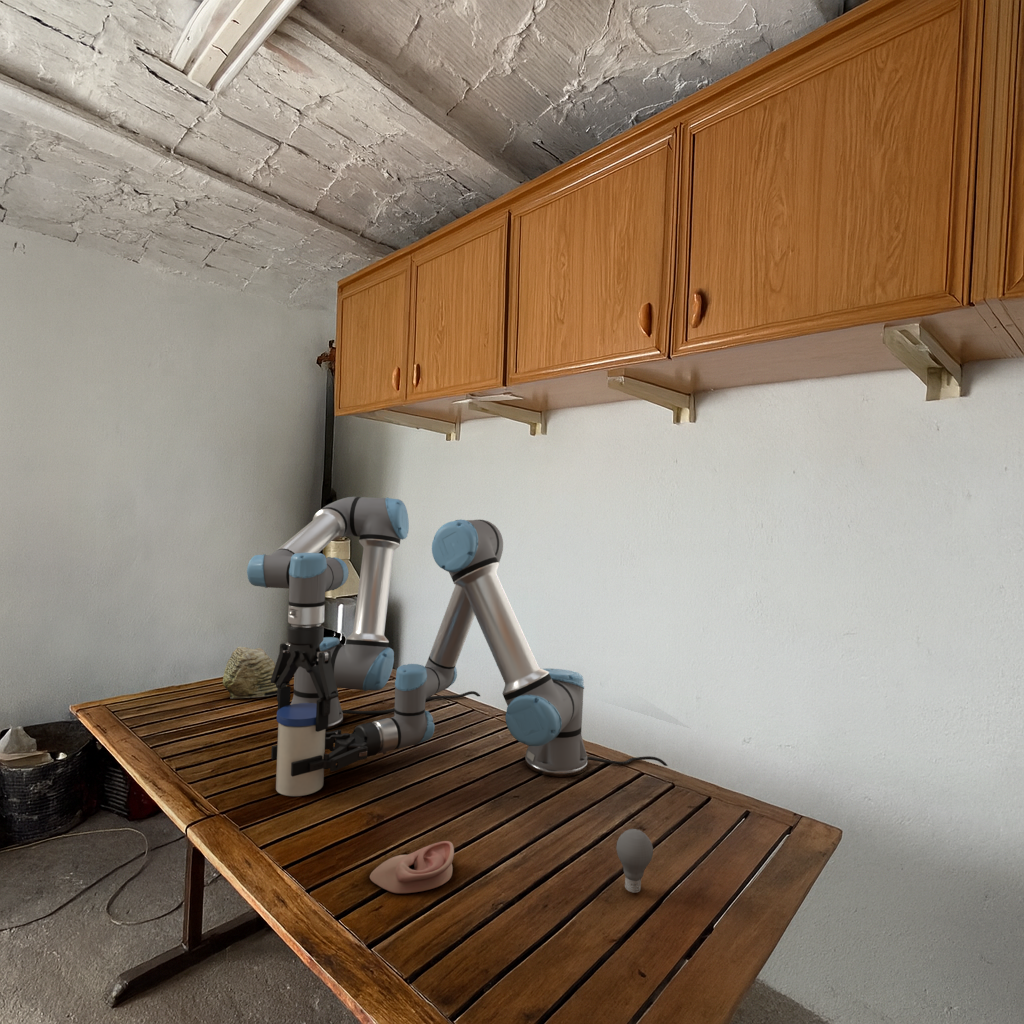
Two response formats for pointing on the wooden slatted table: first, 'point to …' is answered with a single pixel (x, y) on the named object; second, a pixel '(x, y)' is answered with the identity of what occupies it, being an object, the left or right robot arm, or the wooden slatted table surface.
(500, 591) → the right robot arm
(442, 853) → the anatomical model
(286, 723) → the lid
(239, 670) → the fossil
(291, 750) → the jar
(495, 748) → the wooden slatted table surface
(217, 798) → the wooden slatted table surface
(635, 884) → the light bulb
